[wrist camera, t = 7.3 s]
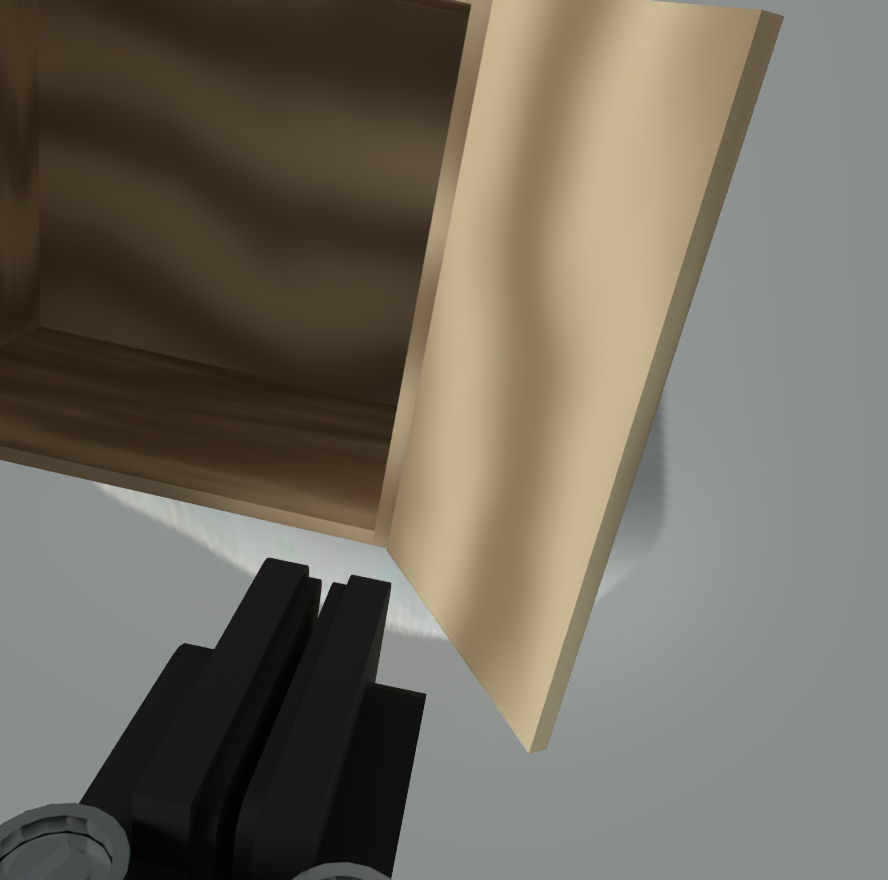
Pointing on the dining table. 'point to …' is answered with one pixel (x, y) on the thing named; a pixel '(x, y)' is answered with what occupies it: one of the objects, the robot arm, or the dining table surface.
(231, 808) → the robot arm
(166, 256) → the carton
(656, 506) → the dining table surface
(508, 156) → the flap
